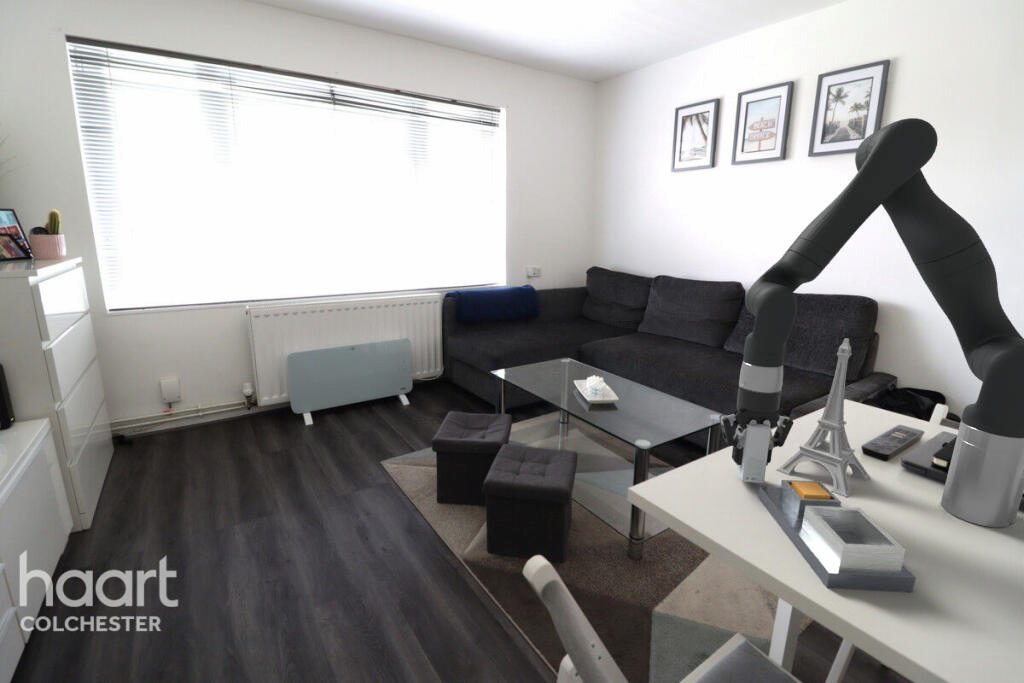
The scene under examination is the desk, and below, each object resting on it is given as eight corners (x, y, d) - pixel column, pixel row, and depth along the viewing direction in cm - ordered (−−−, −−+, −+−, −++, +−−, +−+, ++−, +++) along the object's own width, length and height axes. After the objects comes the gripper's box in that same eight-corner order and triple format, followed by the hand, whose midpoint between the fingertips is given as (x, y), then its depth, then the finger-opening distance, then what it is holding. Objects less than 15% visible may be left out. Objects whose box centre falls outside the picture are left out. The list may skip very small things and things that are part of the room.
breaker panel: (821, 500, 94) (827, 470, 92) (912, 592, 70) (921, 553, 69) (758, 497, 94) (762, 467, 93) (826, 587, 71) (833, 549, 70)
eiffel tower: (802, 453, 113) (823, 328, 106) (869, 477, 103) (897, 340, 96) (776, 471, 105) (796, 337, 98) (846, 498, 95) (874, 350, 88)
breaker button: (814, 496, 89) (816, 482, 89) (827, 510, 85) (830, 495, 84) (789, 495, 90) (792, 481, 89) (801, 509, 86) (804, 494, 85)
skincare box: (764, 484, 96) (771, 428, 94) (741, 482, 97) (748, 426, 94) (756, 469, 102) (762, 416, 99) (734, 467, 103) (740, 415, 100)
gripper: (788, 379, 98) (777, 456, 102) (716, 378, 99) (708, 454, 103) (807, 391, 91) (795, 473, 95) (729, 390, 92) (721, 471, 96)
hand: (750, 463), depth 99 cm, fingers closed on skincare box, 4 cm apart
